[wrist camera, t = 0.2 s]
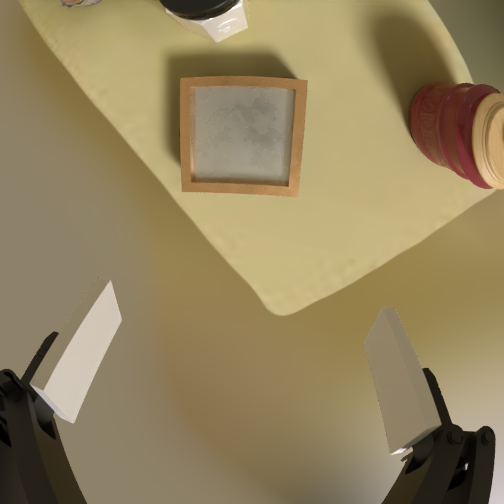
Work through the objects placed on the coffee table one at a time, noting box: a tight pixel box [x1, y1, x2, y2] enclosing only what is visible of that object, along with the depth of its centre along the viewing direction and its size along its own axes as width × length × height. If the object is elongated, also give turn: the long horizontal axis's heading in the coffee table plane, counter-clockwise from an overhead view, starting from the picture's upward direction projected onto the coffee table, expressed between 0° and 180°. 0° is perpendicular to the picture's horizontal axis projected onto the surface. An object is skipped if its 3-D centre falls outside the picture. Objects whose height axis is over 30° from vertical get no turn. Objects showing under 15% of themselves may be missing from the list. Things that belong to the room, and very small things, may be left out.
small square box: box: [179, 76, 307, 197], centre depth 31 cm, size 14×15×6 cm
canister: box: [409, 82, 504, 189], centre depth 22 cm, size 13×13×18 cm
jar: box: [160, 0, 249, 43], centre depth 20 cm, size 9×8×12 cm
